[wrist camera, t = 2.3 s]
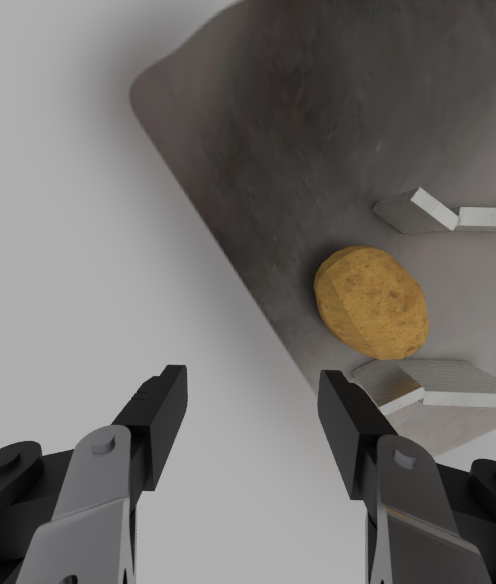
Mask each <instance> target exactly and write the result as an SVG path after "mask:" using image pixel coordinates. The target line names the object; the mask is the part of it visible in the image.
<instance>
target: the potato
mask: <svg viewBox="0 0 496 584" xmlns="http://www.w3.org/2000/svg"><path fill="white" fill-rule="evenodd" d="M314 290H315V294H316V300H317V307H318V310H319V313H320V316H321V318H322V320H323V321H324V323H325V324H326V326H327V328H328V329H329V330H330V332H331V333H332V334H333V336H334V337H336V338H337V339H339V340H340V341H342V342H343V343H345V344H346V345H348V346H349V347H351V348H352V349H354V350H356V351H358V352H360V353H362V354H364V355H367V356H370V357H373V358H376V359H380V360H391V359H403V358H405V357H407V356H409V355H411V354H413V353H415V352H417V351H418V350H419V348H420V347H421V346H422V345H423V344H424V343H425V341H426V338H427V336H428V333H429V328H430V325H429V320H428V315H427V310H426V302H425V297H424V294H423V291H422V289H421V286H420V284H419V283H418V282H417V281H416V280H415V279H414V278H413V277H412V276H411V275H409V273H408V272H407V271H406V270H405V269H404V268H403V267H402V266H401V265H400V264H399V263H398V262H397V261H396V260H395V259H394V258H393V257H392V256H391V255H389V254H388V253H386V252H384V251H383V250H380V249H377V248H374V247H370V246H361V245H358V246H350V247H345V248H343V249H341V250H339V251H337V252H334V253H333V254H332V255H331V256H330V257H329V258H328V259H327V260H326V261H324V262H323V263H322V264H321V266H320V268H319V270H318V271H317V273H316V276H315V281H314Z"/></svg>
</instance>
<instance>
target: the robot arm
mask: <svg viewBox="0 0 496 584" xmlns="http://www.w3.org/2000/svg"><path fill="white" fill-rule="evenodd" d="M187 398H188V394H187V368H186V366H185V365H167V366H166V368H165V369H164V370H163V372H162V373H161V375H160V376H153V377H152V378H150V379H149V380H147V381H146V382H144V383H143V384H142V385H141V387H140V388H139V389H138V390H137V393H135V394H134V396H133V397H132V398H131V400H130V401H129V402H128V403H127V405H126V406H125V407H124V408H123V410H122V411H121V412H120V413H119V415H118V416H117V417H116V419H115V420H114V421H113V423H112V424H111V425H109V426H105V427H101V428H99V429H97V430H94V431H93V432H91V433H89V434H88V435H86V436H85V437H84V438H83V439H82V440H81V441H80V442H79V443H78V444H77V445H76V447H75V449H72V450H68V451H64V452H59V453H54V454H49V455H45V456H42V450H41V446H40V444H39V443H37V442H34V441H24V442H18V443H15V444H11V445H8V446H6V447H3V448H1V449H0V584H136V546H137V545H136V544H137V505H136V504H137V502H138V500H139V497H140V495H141V493H142V491H155V488H156V486H157V483H158V481H159V478H160V476H161V473H162V471H163V468H164V465H165V463H166V461H167V458H168V455H169V453H170V450H171V448H172V445H173V443H174V440H175V438H176V435H177V433H178V430H179V428H180V425H181V422H182V420H183V418H184V415H185V412H186V408H187V401H188V399H187ZM318 415H319V418H320V421H321V424H322V426H323V429H324V432H325V434H326V437H327V440H328V442H329V445H330V448H331V450H332V453H333V455H334V458H335V460H336V463H337V466H338V468H339V471H340V474H341V476H342V479H343V481H344V484H345V487H346V489H347V492H348V495H349V497H350V500H363V501H364V503H365V505H366V508H367V513H366V520H365V521H366V522H365V523H366V524H365V526H366V527H365V529H366V530H365V533H366V534H365V538H366V540H365V541H366V542H365V545H366V547H365V554H366V555H365V556H366V559H365V560H366V561H365V562H366V564H365V567H366V569H365V570H366V571H365V573H366V575H365V577H366V579H365V582H366V583H365V584H496V461H493V460H489V459H477V460H475V461H473V463H472V466H471V470H470V473H469V472H466V471H462V470H458V469H454V468H451V467H448V466H444V465H441V464H438V463H435V460H434V459H433V457H432V456H431V455H430V454H429V453H428V452H427V451H426V450H425V449H424V448H423V447H421V446H420V445H419V444H417V443H415V442H414V441H412V440H410V439H407V438H405V437H402V436H399V435H398V434H397V432H396V431H395V430H394V428H393V427H392V426H391V424H390V423H389V422H388V420H387V419H386V418H385V417H384V415H383V414H382V413H381V411H380V410H379V409H378V407H377V406H376V405H375V403H374V402H372V399H371V398H370V397H369V396H368V394H367V393H366V392H365V390H363V389H362V388H360V387H359V386H358V385H356V384H355V383H349V382H348V381H347V379H346V378H345V376H344V375H343V373H342V372H341V371H339V370H322V371H321V373H320V381H319V392H318Z"/></svg>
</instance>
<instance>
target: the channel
mask: <svg viewBox="0 0 496 584" xmlns="http://www.w3.org/2000/svg"><path fill="white" fill-rule="evenodd" d="M371 211H372V212H373V213H375V214H376V215H377V216H379V217H380V218H381V219H383V220H384V221H385V222H387V223H388V224H390V225H391V226H392V227H394V228H395V229H396V230H398V231H399V232H400V233H402V234H415V233H431V232H447V231H474V232H496V208H478V207H458V208H453V209H448V208H447V207H445V206H444V205H443V204H441V203H440V202H439V201H437V200H436V199H435V198H434V197H432V196H431V195H430V194H428V193H427V192H426V191H424V190H423V189H422V188H420V187H419V188H416V189H413V190H410V191H408V192H405V193H402V194H399V195H396V196H393V197H390V198H387V199H384V200H381V201H378V202H377V203H376V204H375V206H374V207H373V209H372V210H371ZM351 372H352V374H353V375H354V377H355V379H356V380H357V382H358V383H359V384H360V385H361V387H362V388H363V389H364V390H365V392H366V393H367V394H368V396H369V397H370V398H371V399H372V401H373V402H374V403H375V405H376V406H377V407H378V409H379V410H380V411H381V413H382V414H383V415H384V416H386V415H388V414H390V413H392V412H394V411H396V410H399V409H401V408H403V407H405V406H407V405H409V404H411V403H414V402H416V401H419V402H420V403H421V404H423V405H448V406H476V407H496V377H494V376H492V375H490V374H488V373H487V372H485V371H483V370H481V369H479V368H478V367H476V366H474V365H472V364H470V363H469V362H467V361H453V360H422V359H391V360H380V359H375V360H373V361H371V362H369V363H367V364H365V365H363V366H361V367H359V368H357V369H355V370H353V371H351Z"/></svg>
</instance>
